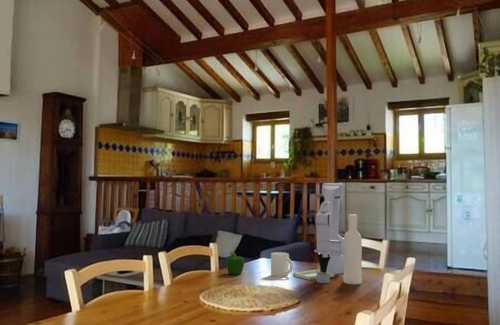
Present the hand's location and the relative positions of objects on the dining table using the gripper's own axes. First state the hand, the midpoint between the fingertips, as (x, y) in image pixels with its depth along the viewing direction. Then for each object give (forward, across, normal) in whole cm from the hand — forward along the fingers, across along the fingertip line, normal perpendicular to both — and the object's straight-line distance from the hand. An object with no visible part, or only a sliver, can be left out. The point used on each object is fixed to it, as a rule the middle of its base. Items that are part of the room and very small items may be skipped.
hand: (323, 271), depth 201 cm
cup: (+5, 0, 0) cm, 5 cm away
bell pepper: (+5, -15, -40) cm, 43 cm away
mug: (+5, -11, -18) cm, 21 cm away
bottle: (+5, 0, +13) cm, 14 cm away
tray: (+5, -12, -3) cm, 13 cm away
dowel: (+4, 0, 0) cm, 4 cm away
